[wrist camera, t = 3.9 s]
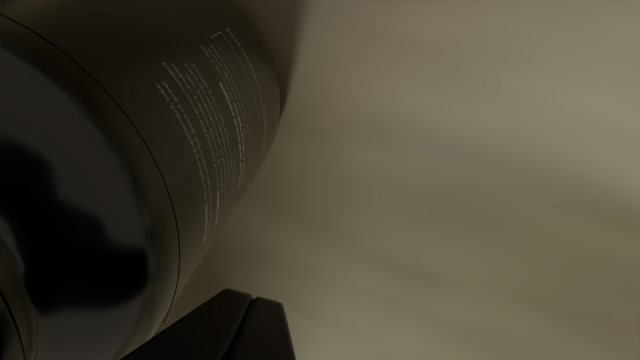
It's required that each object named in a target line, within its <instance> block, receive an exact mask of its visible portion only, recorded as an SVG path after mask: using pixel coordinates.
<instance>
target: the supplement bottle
mask: <svg viewBox="0 0 640 360" xmlns="http://www.w3.org/2000/svg"><path fill="white" fill-rule="evenodd" d="M279 116H280V87H279V81H278V76H277V72H276V68H275V64H274V61H273V59H272V56H271V53H270V51H269V49H268V46H267V44H266V42H265V40H264V39H263V37H262V35H261V33H260V32H259V30H258V29H257V27H256V26H255V24H254V23H253V21H252V20H251V19H250V18H249V17H248V15H247V14H246V13H245V12H244V11H243V10H242V9H241V8H240V7H239V6H238V5H237V4H236V3H235V2H234V1H233V0H0V360H120V359H121V358H123V357H124V356H126V355H127V354H129V353H130V352H132V351H133V350H134V349H136V348H137V347H139V346H140V345H142V344H143V343H145V342H146V341H148V340H149V339H151V338H152V337H154V336H155V335H156V333H157V332H158V330H159V329H160V327H161V326H162V324H163V323H164V321H165V319H166V318H167V316H168V315H169V313H170V312H171V310H172V309H173V307H174V305H175V304H176V302H177V300H178V299H179V297H180V296H181V294H182V292H183V291H184V289H185V288H186V286H187V284H188V283H189V281H190V280H191V278H192V276H193V275H194V273H195V272H196V270H197V268H198V267H199V265H200V264H201V262H202V260H203V259H204V257H205V255H206V254H207V252H208V251H209V249H210V247H211V246H212V244H213V243H214V241H215V239H216V238H217V236H218V235H219V233H220V231H221V230H222V228H223V227H224V225H225V223H226V222H227V220H228V218H229V217H230V215H231V214H232V212H233V210H234V209H235V207H236V206H237V204H238V202H239V201H240V199H241V198H242V196H243V194H244V193H245V191H246V190H247V188H248V186H249V185H250V183H251V181H252V180H253V178H254V177H255V175H256V173H257V172H258V170H259V168H260V166H261V165H262V163H263V161H264V160H265V158H266V156H267V154H268V152H269V150H270V148H271V145H272V143H273V140H274V137H275V135H276V131H277V127H278V123H279Z"/></svg>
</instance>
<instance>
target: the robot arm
mask: <svg viewBox="0 0 640 360" xmlns="http://www.w3.org/2000/svg"><path fill="white" fill-rule="evenodd" d="M120 360H296V357H295V353H294V349H293V344H292V340H291V336H290V332H289V327H288V323H287V319H286V314H285V310H284V307H283V305H282V303H280V302H278V301H274V300H270V299H267V298H263V297H256V298H255V299H254V300H253V296H252V295H251V294H248V293H244V292H241V291H237V290H233V289H224V290H223V291H221V292H220V293H218V294H217V295H215V296H214V297H212V298H211V299H209V300H208V301H206V302H205V303H203V304H202V305H200V306H199V307H197V308H196V309H194V310H193V311H191V312H190V313H188V314H187V315H185V316H184V317H182V318H181V319H179V320H178V321H176V322H175V323H173V324H172V325H170V326H169V327H167V328H166V329H164V330H163V331H161V332H160V333H158V334H157V335H155V336H154V337H152V338H151V339H149V340H148V341H146V342H145V343H143V344H142V345H140V346H139V347H137V348H136V349H134V350H133V351H132V352H130V353H129V354H127V355H126V356H124V357H123V358H121V359H120Z"/></svg>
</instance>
